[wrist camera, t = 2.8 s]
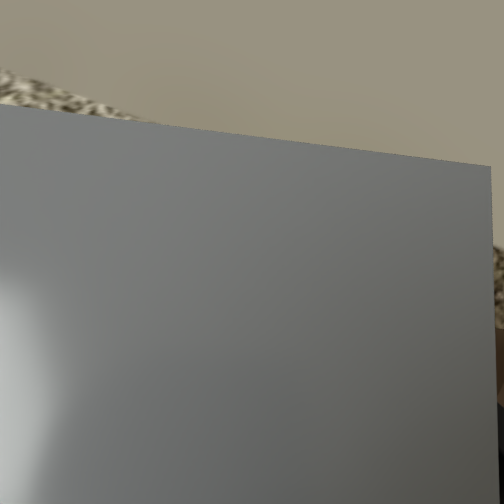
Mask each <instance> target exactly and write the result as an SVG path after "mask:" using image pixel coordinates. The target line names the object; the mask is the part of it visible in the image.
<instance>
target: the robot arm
mask: <svg viewBox="0 0 504 504" xmlns="http://www.w3.org/2000/svg"><path fill="white" fill-rule="evenodd" d="M497 423H498V462H499V500H500V504H504V407H503V406H502V405H500V404H499V403H498V402H497Z"/></svg>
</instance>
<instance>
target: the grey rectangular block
mask: <svg viewBox="0 0 504 504" xmlns="http://www.w3.org/2000/svg"><path fill="white" fill-rule="evenodd" d="M492 232H493V231H492V192H491V167H490V166H482V165H474V164H466V163H459V162H451V161H443V160H435V159H428V158H420V157H412V156H404V155H396V154H388V153H381V152H373V151H365V150H357V149H349V148H341V147H333V146H326V145H317V144H310V143H301V142H294V141H287V140H279V139H270V138H263V137H255V136H247V135H239V134H231V133H223V132H216V131H208V130H200V129H192V128H184V127H177V126H169V125H161V124H153V123H145V122H138V121H130V120H122V119H114V118H106V117H98V116H91V115H83V114H75V113H67V112H59V111H51V110H44V109H36V108H28V107H20V106H12V105H4V104H0V504H500V500H499V462H498V423H497V385H496V346H495V308H494V269H493V233H492Z"/></svg>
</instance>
